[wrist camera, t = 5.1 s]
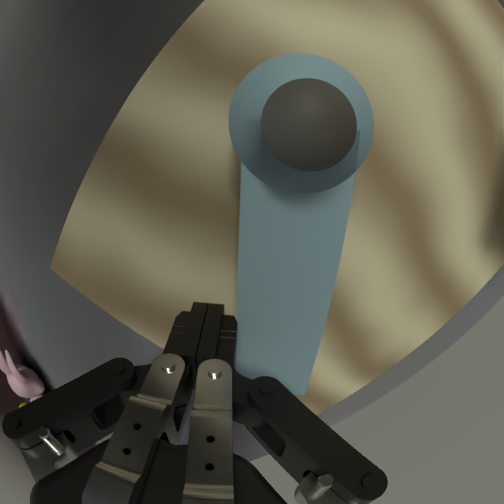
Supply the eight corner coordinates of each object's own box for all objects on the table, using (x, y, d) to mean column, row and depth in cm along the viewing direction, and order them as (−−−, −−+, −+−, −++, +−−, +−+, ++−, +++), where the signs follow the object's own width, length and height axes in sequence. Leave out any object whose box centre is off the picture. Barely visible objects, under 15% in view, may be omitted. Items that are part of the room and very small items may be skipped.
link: (237, 59, 10) (231, 49, 8) (361, 72, 10) (378, 66, 8) (229, 366, 17) (226, 391, 15) (309, 369, 17) (312, 394, 15)
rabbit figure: (74, 406, 29) (30, 345, 20) (61, 443, 24) (4, 395, 15) (38, 390, 29) (-10, 324, 20) (24, 424, 24) (-35, 368, 15)
